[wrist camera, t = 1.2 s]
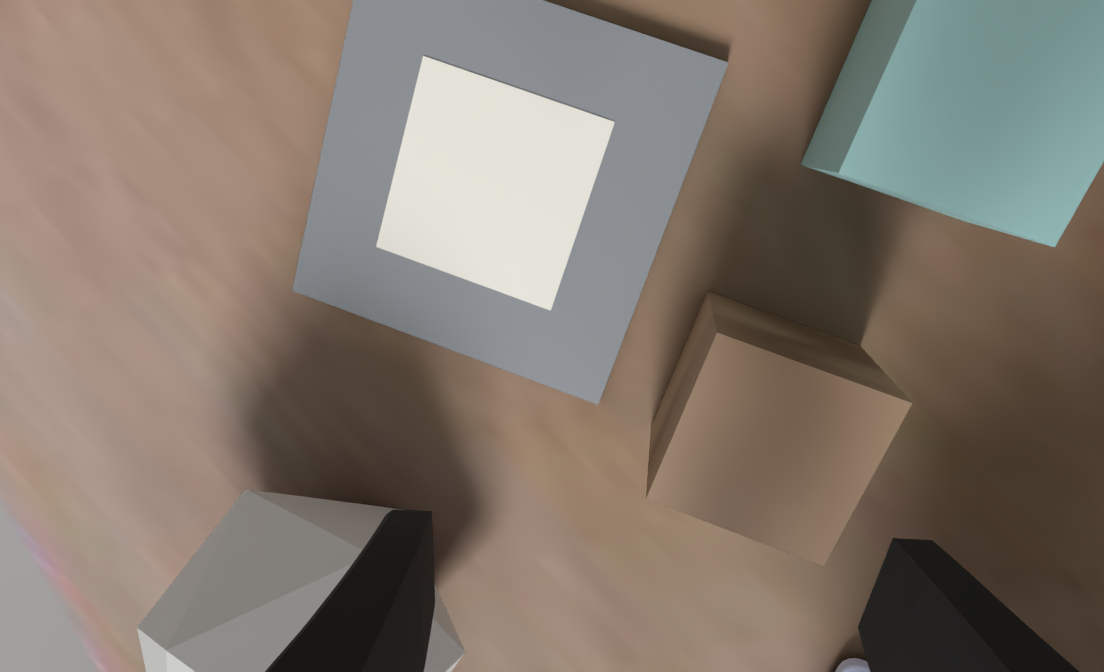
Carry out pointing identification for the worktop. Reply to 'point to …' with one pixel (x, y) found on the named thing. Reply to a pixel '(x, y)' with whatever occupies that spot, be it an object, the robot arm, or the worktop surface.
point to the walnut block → (771, 428)
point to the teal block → (972, 110)
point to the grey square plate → (502, 179)
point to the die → (267, 586)
